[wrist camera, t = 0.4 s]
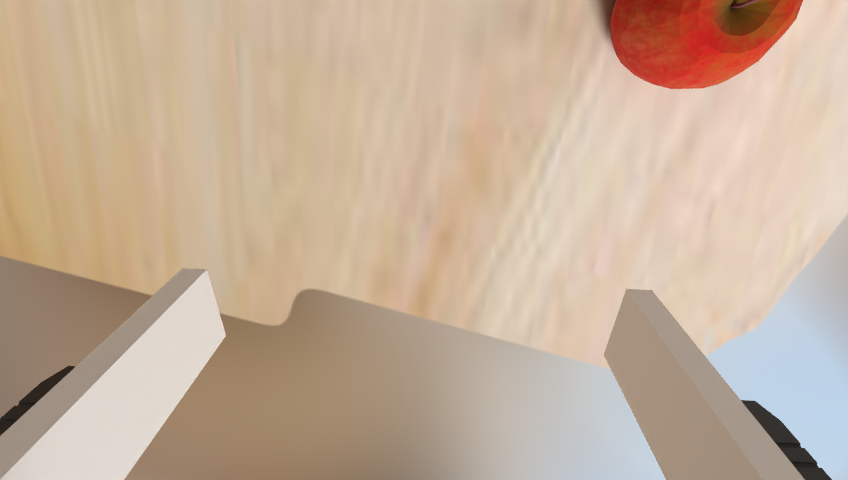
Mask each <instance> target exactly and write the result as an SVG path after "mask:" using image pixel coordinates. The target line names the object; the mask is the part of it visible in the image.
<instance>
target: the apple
mask: <svg viewBox="0 0 848 480" xmlns="http://www.w3.org/2000/svg"><path fill="white" fill-rule="evenodd" d="M802 1H803V0H616V1H615V3H614V8H613V12H612V16H611V20H610V27H611V40H612V43H613V47H614V50H615V52H616V55H617V57H618V59H619V60H620V62H621V63H622V64H623V65H624V66H625V67H626V68H627V69H628V70H630V71H631V72H632V73H633V74H634V75H636V76H637V77H639V78H641V79H643V80H645V81H647V82H649V83H652V84H655V85H658V86H662V87H666V88H670V89H689V88H705V87H709V86H713V85H717V84H720V83H722V82H724V81H726V80H728V79H730V78H732V77H734V76H735V75H737V74H739V73H741V72H742V71H744V70H745V69H747V68H748V67H750V66H751V65H753V64H754V63H756V62H758V61H759V60H760V59H761V58H762V57H763V56H764V54H765V53H766V52H767V51H768V50H769V49H770V48H771V47H772V46H773V45H774V44H775V43H776V42H777V41H778V40H779V39H780V38H781V37H782V35H783V34H784V33H785V32H786V31H787V30H788V28H789V27H790V26H791V25H792V23H793V22H794V21H795V20H796V18H797V15H798V12H799V10H800V7H801V4H802Z"/></svg>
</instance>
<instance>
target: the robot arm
mask: <svg viewBox="0 0 848 480" xmlns="http://www.w3.org/2000/svg"><path fill="white" fill-rule="evenodd" d="M225 336H226V334H225V331H224V328H223V324H222V321H221V317H220V314H219V310H218V307H217V303H216V300H215V296H214V293H213V290H212V286H211V283H210V279H209V276H208V272H207V270H206V269H184V268H183V269H182V270H181V271H179V272H178V273H177V274H176V275H175V276H174V277H173V278H172V279H171V280H170V281H169V282H167V283H166V284H165V285H164V286H163V287H162V288H161V289H160V290H159V291H158V292H157V293H156V294H154V295H153V296H152V297H151V298H150V299H149V300H148V301H147V302H146V303H145V304H144V305H142V306H141V307H140V308H139V309H138V310H137V311H136V312H135V313H134V314H133V315H132V316H130V317H129V318H128V319H127V320H126V321H125V322H124V323H123V324H122V325H121V326H120V327H118V328H117V329H116V330H115V331H114V332H113V333H112V334H111V335H110V336H109V337H108V338H107V339H106V340H104V341H103V342H102V343H101V344H100V345H99V346H98V347H97V348H96V349H95V350H93V351H92V352H91V353H90V354H89V355H88V356H87V357H86V358H85V359H84V360H83V361H81V362H80V363H79V364H78V365H77V366H68V367H66V368H64V369H63V370H61V371H59V372H58V373H56V374H54V375H53V376H51V377H50V378H48V379H46V380H44V381H43V382H41V383H40V384H39V385H38V386H37V387H35V388H34V389H33V390H32V391H31V392H30V393H29V394H28V395H26V396H25V397H24V398H23V399H22V400H21V401H20V402H19V405H18V406H14V407H13V408H12V409H10V410H9V411H8V412H7V413H6V414H5V415H4V416H2V417H1V418H0V480H124V479H125V478H126V476H127V475H128V473H129V472H130V470H131V469H132V468H133V466H134V465H135V463H136V462H137V460H138V459H139V458H140V456H141V455H142V453H143V452H144V451H145V449H146V448H147V446H148V445H149V444H150V442H151V441H152V439H153V438H154V436H155V435H156V434H157V432H158V431H159V429H160V428H161V427H162V425H163V424H164V422H165V421H166V420H167V418H168V417H169V415H170V414H171V412H172V411H173V410H174V408H175V407H176V405H177V404H178V402H179V401H180V400H181V398H182V397H183V395H184V394H185V393H186V391H187V390H188V388H189V387H190V386H191V384H192V383H193V381H194V380H195V379H196V377H197V376H198V374H199V373H200V372H201V370H202V369H203V367H204V366H205V364H206V363H207V362H208V360H209V359H210V357H211V356H212V354H213V353H214V352H215V350H216V349H217V347H218V346H219V345H220V343H221V342H222V340H223V339H224V338H225ZM604 356H605V358H606V360H607V362H608V364H609V366H610V368H611V370H612V372H613V374H614V376H615V378H616V380H617V382H618V384H619V386H620V388H621V390H622V392H623V394H624V396H625V398H626V400H627V402H628V404H629V406H630V408H631V410H632V412H633V414H634V416H635V418H636V420H637V422H638V424H639V426H640V428H641V430H642V432H643V434H644V436H645V438H646V440H647V442H648V444H649V446H650V448H651V450H652V452H653V454H654V456H655V458H656V460H657V462H658V464H659V466H660V468H661V470H662V472H663V474H664V476H665V478H666V480H832V479H831V478H830V477H829V476H828V475H827V474H826V473H825V471H824V470H823V469H822V468H819V467H818V466H817V462H816V461H815V460H814V459H813V458H812V456H811V455H810V454H809V453H808V452H807V451H806V450H805V448H801V446H800V443H799V441H798V440H797V439H796V438H795V437H794V436H793V435H792V433H791V432H790V431H789V430H788V429H787V428H786V426H785V425H784V424H783V423H782V422H781V421H780V420H779V419H778V418H776V417H775V416H773V415H772V414H771V413H770V412H768V411H767V410H766V409H765V408H763V407H762V406H761V405H759V404H758V403H757V402H756V401H744V400H740V399H739V398H738V396H737V395H736V394H735V393H734V392H733V390H732V389H731V388H730V387H729V385H728V384H727V383H726V382H725V380H724V379H723V378H722V377H721V375H720V374H719V373H718V372H717V371H716V369H715V368H714V367H713V366H712V364H711V363H710V362H709V361H708V359H707V358H706V357H705V356H704V354H703V353H702V352H701V351H700V349H699V348H698V347H697V346H696V344H695V343H694V342H693V341H692V340H691V338H690V337H689V336H688V335H687V333H686V332H685V331H684V330H683V328H682V327H681V326H680V325H679V323H678V322H677V321H676V320H675V319H674V317H673V316H672V315H671V314H670V312H669V311H668V310H667V309H666V307H665V306H664V305H663V304H662V302H661V301H660V300H659V299H658V298H657V296H656V295H655V294H654V293H653V291H652V290H634V289H626V292H625V295H624V298H623V301H622V304H621V307H620V309H619V312H618V315H617V318H616V321H615V324H614V327H613V330H612V332H611V335H610V338H609V341H608V344H607V347H606V350H605V353H604Z"/></svg>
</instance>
